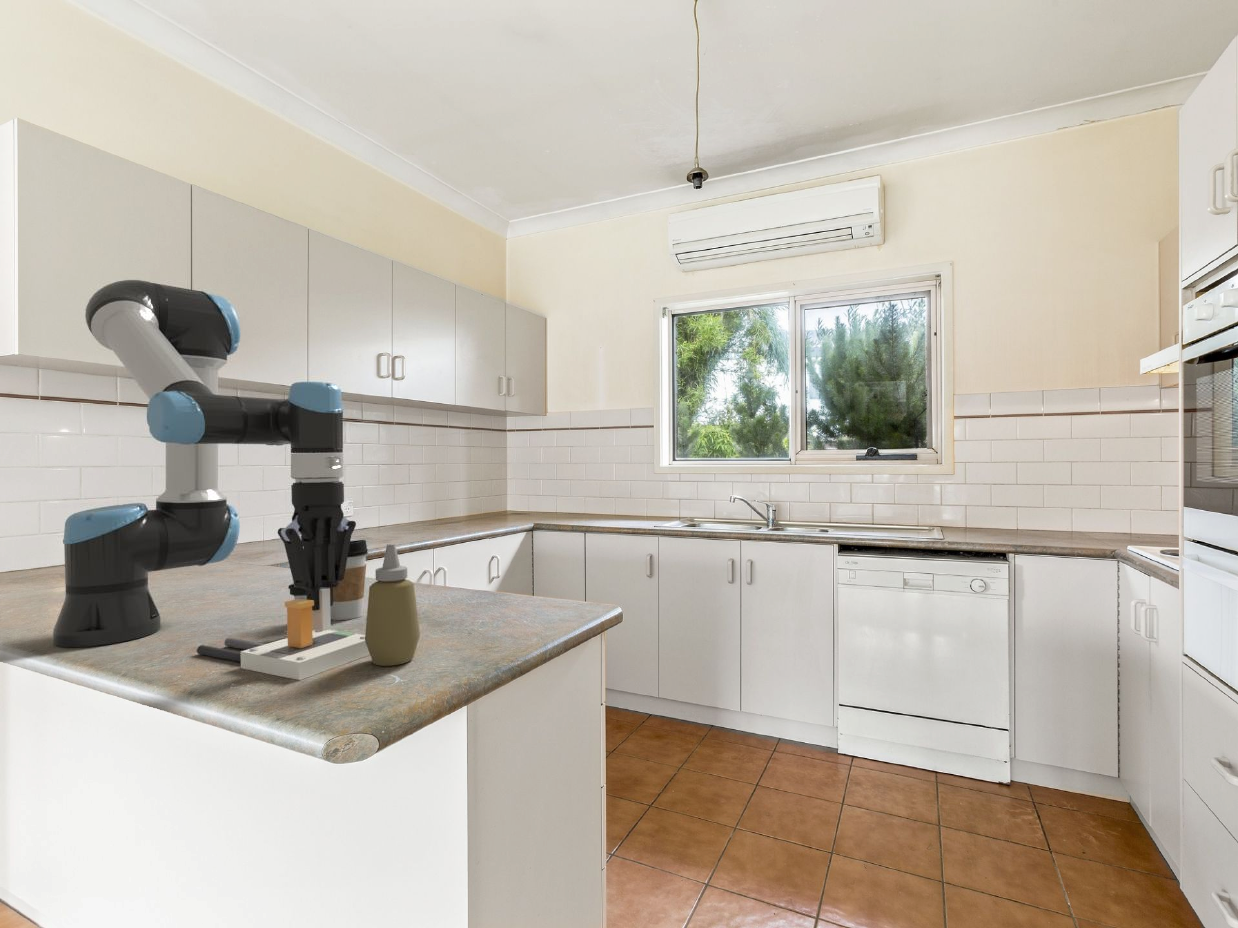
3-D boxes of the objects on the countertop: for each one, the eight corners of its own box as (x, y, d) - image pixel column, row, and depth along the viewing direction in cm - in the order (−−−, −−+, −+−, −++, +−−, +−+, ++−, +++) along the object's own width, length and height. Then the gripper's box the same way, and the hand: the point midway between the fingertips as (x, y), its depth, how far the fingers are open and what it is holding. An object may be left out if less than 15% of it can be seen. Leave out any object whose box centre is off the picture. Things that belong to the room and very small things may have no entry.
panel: (240, 668, 96) (240, 650, 96) (320, 642, 108) (320, 627, 108) (299, 680, 90) (299, 661, 90) (376, 652, 103) (376, 635, 103)
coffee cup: (358, 621, 122) (357, 543, 122) (314, 622, 123) (313, 544, 122) (375, 611, 131) (374, 538, 131) (335, 611, 131) (333, 538, 131)
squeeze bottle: (388, 673, 93) (386, 549, 93) (353, 664, 97) (351, 546, 97) (431, 657, 100) (429, 543, 99) (397, 650, 104) (395, 540, 104)
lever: (285, 646, 97) (284, 601, 97) (299, 641, 99) (298, 598, 99) (300, 648, 96) (300, 603, 96) (314, 644, 98) (313, 600, 98)
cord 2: (224, 647, 107) (224, 638, 107) (232, 644, 108) (232, 636, 108) (274, 656, 101) (274, 647, 101) (282, 654, 102) (282, 645, 102)
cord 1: (196, 654, 103) (196, 646, 103) (205, 652, 104) (205, 643, 104) (247, 665, 97) (247, 656, 97) (256, 662, 98) (256, 653, 98)
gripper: (297, 482, 93) (301, 642, 94) (367, 479, 105) (370, 621, 105) (263, 482, 96) (266, 637, 97) (335, 478, 108) (337, 617, 108)
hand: (320, 628), depth 101 cm, fingers closed
